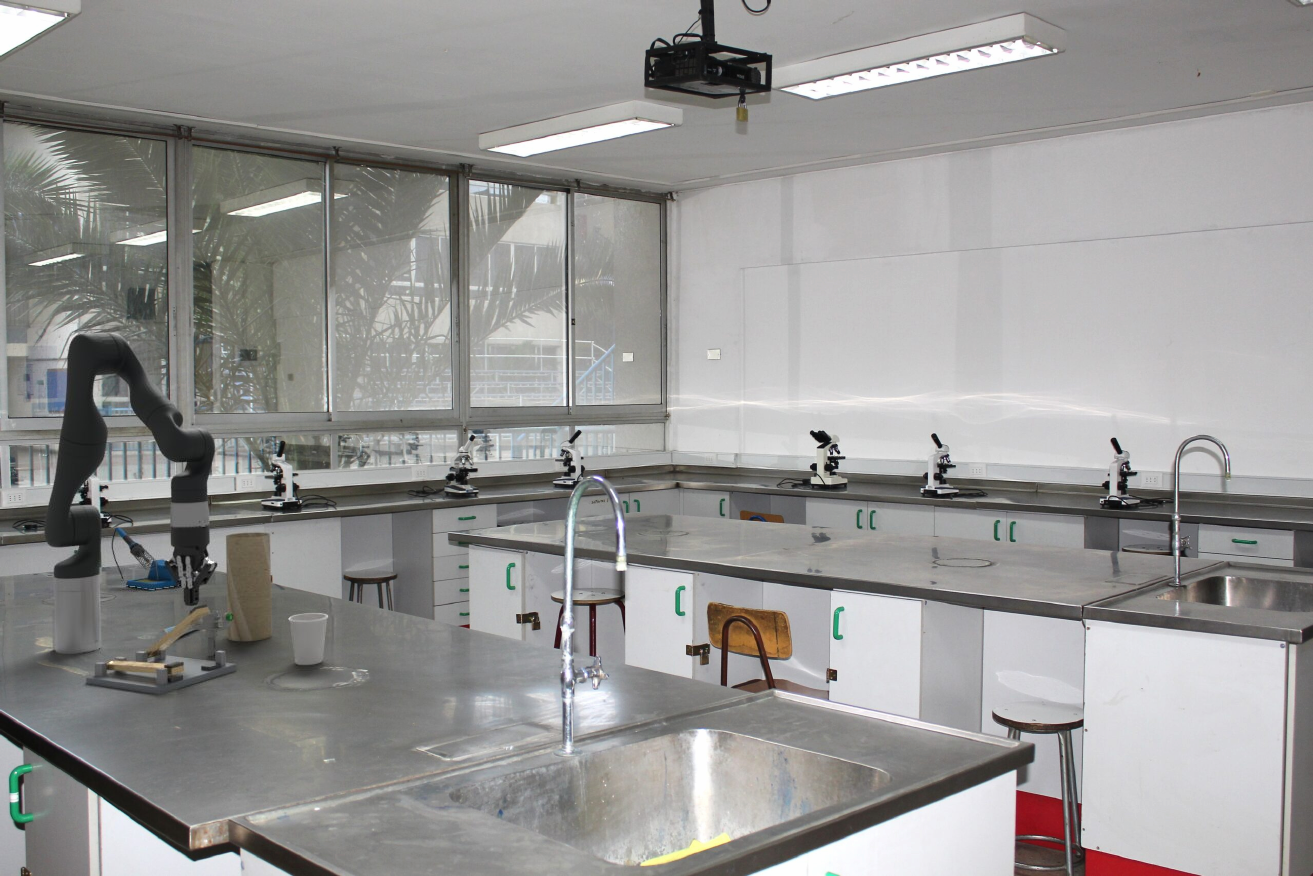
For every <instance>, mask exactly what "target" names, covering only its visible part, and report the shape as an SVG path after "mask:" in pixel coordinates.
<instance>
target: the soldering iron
mask: <svg viewBox="0 0 1313 876" xmlns="http://www.w3.org/2000/svg"><path fill="white" fill-rule="evenodd" d="M116 533H117V534H118V535H119V536H120V538H121V539H122V540H123V541H124V542H125V544H127V545H128V548H129V551H130V552H129V553H130V554H131V555H133V557H134V558H135V559H136V560H137V561H138V563H139V564H140V565H141V567H143V568H144V570H145V571H148V574H147V576H146V577H143V578H142V577H141V578H136V579H135V578H134V579H130V580H127V581H126V582H125V583H126V586H127V585H128V586H135V587H141V588H147V589H156V588H164V587H170V586H178V585H180V584H176V583H175V581H174V580H173V578H172V576H171V575H170V573H169V571H168V569H167V568H166V566H165V564H164V562H165V561H166V560H165V559H163V558H161V559H157V560H156V559H155V558H154V557H153V556H152V555H151V553H149V552H148V551H147V550H146V549H145V548H144V546H143V544H140V543H139V542H136V541H134V540H133V539H132V538H131V537H130V536H129V535H128V534H127V533H126V532H125V531H124V530H123V529H122V528H121V527H115V529H114V532H113V535H112V539H111V550H112V551H111V552H112V555H113V560H114V561H115V565H116V567H117V569H118V572H119V573H120V576H121V580H122V579H123V580H124V576H123V573H122V571H121V569H120V566H119V564H118V562H117V559H116V554H115V551H114V540H115V535H116ZM147 567H148V568H147ZM148 569H149V570H148ZM178 576H179V575H178ZM179 578H180V577H179Z"/></svg>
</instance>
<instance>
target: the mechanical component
mask: <svg viewBox="0 0 1313 876" xmlns="http://www.w3.org/2000/svg"><path fill="white" fill-rule="evenodd" d="M189 615H190V612H189V614H188V616H189ZM232 620H233V614H231V613H227V612H224V613H223V614H222V618H221V615H219V611H218V610H210V612H209V613H208V614H207V615H205V616H204V617H203V618H202V619H201V620H199V621H198V622H197V623H196V624H195V625H193V626H192V628H193V629H195V630H196V631H198V630H199V631H200V630H201V631H202V630H203V631H205V635H204V637H206V639H207V656H208V657H213V656H215V652H216V637H218V635H219V634H218V631H220V632H221V631H224V630H226V629H227V630H228V628H229V627H231V625H232ZM219 624H223V625H222V626H221V625H219Z"/></svg>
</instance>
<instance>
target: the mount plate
mask: <svg viewBox="0 0 1313 876" xmlns="http://www.w3.org/2000/svg"><path fill="white" fill-rule="evenodd" d="M166 650H167V648H166V649H164V650H163V651H162V652H161V653H160V654H159V655H158V656H155V657H153V658H151V659H149V660H148V659H147V652H146V651H143V650H142V651H141V650H139V651H135V662H146V663H161V664H170V663H173V662H184V671H182V672H179V673H176V674H172V675H171V674H167V668H158V669H156V673H143V672H129V671H116V670H107V662H102V661H98V662H95V663H94V675H90V676H88V677H85V680H86V681H85V684H89V685H95V686H102V687H107V688H108V687H109V688H114V689H121V690H122V689H123V690H126V691H127V690H129V691H134V692H142V693H146V694H148V693H149V694H153V693H154V694H155V695H162V694H167V693H169V691H170V692H172V691H171V690H173V691H176V690H178V689H177V688H179V689H182V688H185V687H184V686H186V687H188V686H187V685H189V686H192V685H195V684H198V683H201V681H202V682H204V681H207V680H210V679H211V680H212V679H215V678H217V676H218V677H220V675H221V676H223V675H227V674H230V673H233V672H237V663H233V662H232V663H231V662H227V661H226V651H225V650H217V651H215V655H214V657H215V660H207V659H199V658H190V657H180V656H174V655H173V656H172V655H167V654H166ZM115 660H118V661H128V660H127V657H126V656H116V657H114V661H115ZM191 684H192V685H191ZM181 687H182V688H181ZM175 689H176V690H175Z"/></svg>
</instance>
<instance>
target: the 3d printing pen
mask: <svg viewBox="0 0 1313 876" xmlns="http://www.w3.org/2000/svg"><path fill="white" fill-rule="evenodd" d="M176 626H177V625H175V626H170V627H168V628H164V629H162V630H160V631H159V632H158V634H157V636H156V642H158V641H159V640H160V639H162V638H163V637H164V636H165V635H166V634H168V633H169V632H170V631H171V630H172V629H174V628H175V627H176ZM195 630H196V629H193V628H192V627H191V628H190V629H189V630H187V631H186V632H185V633H184V634H183V635H185V634H187V633H190V632H192V631H195Z"/></svg>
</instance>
